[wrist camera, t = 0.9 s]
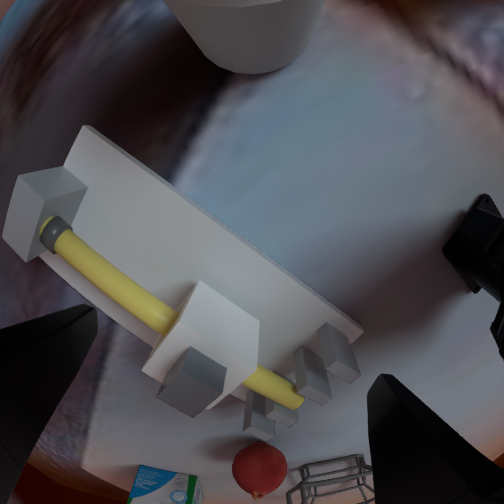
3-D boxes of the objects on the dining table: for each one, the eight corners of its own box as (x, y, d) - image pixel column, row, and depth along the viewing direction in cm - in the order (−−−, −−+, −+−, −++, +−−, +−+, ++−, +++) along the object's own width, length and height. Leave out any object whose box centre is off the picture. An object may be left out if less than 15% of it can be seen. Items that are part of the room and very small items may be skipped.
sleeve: (259, 321, 20) (255, 395, 13) (219, 362, 21) (203, 433, 15) (199, 279, 19) (167, 344, 13) (164, 326, 21) (129, 392, 14)
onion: (289, 451, 29) (290, 507, 21) (242, 455, 29) (236, 509, 22) (282, 426, 27) (283, 489, 19) (229, 430, 27) (221, 491, 20)
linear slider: (360, 325, 22) (382, 374, 16) (267, 404, 26) (265, 454, 20) (90, 125, 18) (37, 124, 12) (39, 246, 21) (-4, 272, 16)
